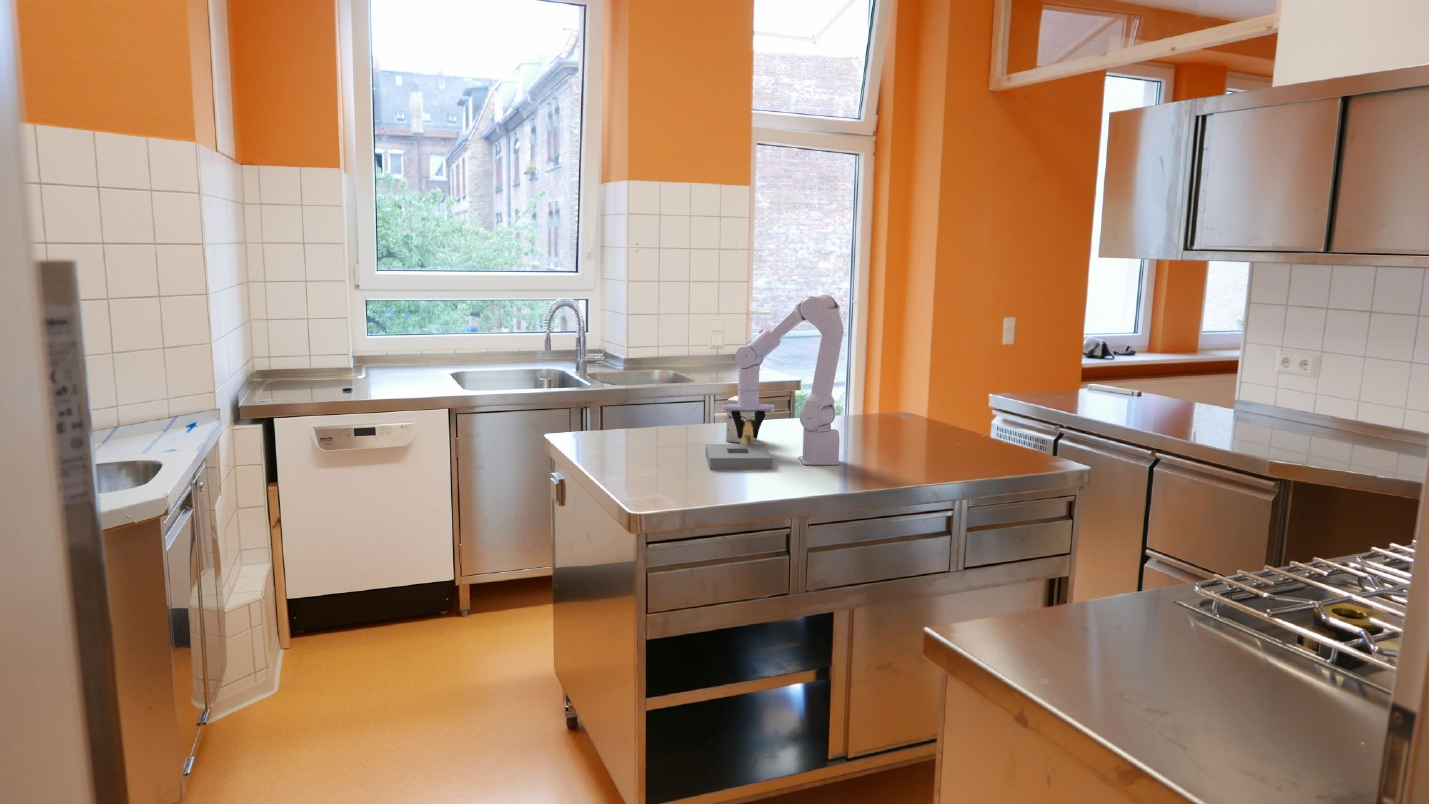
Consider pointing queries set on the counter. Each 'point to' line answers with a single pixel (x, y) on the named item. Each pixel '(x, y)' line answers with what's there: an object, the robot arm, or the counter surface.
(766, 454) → the jig block
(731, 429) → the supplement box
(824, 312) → the robot arm
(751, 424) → the brass sleeve
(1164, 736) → the counter surface
